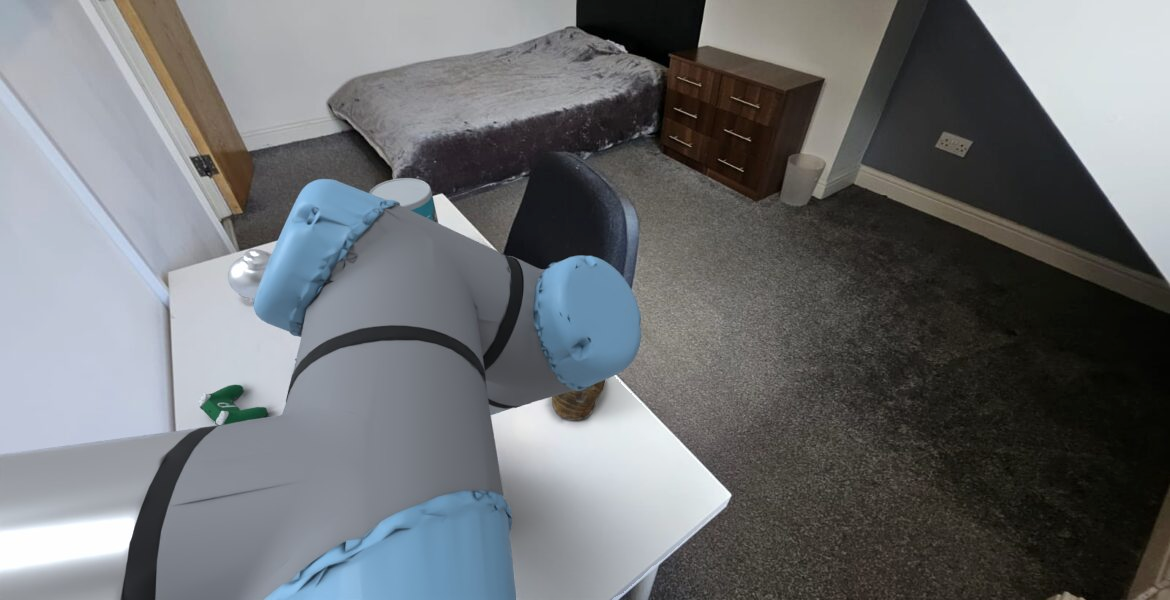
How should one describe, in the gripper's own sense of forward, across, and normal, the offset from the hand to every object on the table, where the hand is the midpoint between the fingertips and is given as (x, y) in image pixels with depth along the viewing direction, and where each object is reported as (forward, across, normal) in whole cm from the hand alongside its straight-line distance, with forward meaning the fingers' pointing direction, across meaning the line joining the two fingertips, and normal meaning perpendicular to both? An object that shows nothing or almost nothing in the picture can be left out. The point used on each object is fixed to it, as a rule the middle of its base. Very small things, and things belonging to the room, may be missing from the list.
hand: (378, 414), depth 51 cm
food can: (+38, +42, +10) cm, 58 cm away
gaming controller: (+38, -1, +10) cm, 40 cm away
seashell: (+5, +26, -23) cm, 35 cm away
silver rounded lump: (+54, +21, +26) cm, 63 cm away
